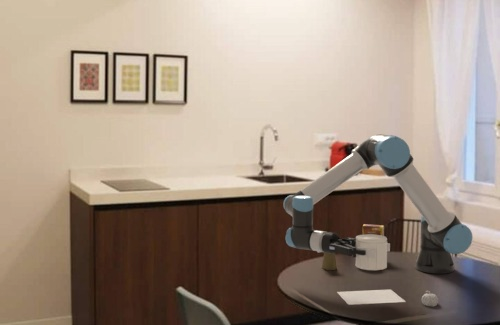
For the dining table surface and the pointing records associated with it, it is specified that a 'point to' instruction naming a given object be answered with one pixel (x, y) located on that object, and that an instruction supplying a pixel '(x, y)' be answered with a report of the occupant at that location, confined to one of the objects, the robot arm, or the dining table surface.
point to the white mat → (370, 297)
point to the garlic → (429, 299)
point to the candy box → (373, 229)
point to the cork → (329, 261)
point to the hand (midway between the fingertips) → (382, 250)
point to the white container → (372, 243)
